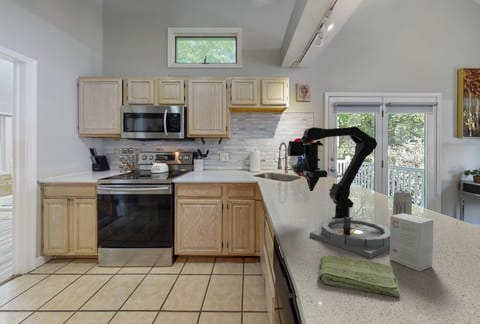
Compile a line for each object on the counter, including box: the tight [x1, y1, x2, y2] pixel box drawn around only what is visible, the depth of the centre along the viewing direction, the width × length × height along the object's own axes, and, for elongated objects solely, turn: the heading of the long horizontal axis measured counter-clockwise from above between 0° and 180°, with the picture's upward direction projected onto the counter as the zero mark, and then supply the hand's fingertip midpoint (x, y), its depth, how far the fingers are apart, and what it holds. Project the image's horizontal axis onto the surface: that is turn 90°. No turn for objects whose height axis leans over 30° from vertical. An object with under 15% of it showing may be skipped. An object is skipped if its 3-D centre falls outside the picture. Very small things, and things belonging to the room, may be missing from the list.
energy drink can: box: [392, 190, 413, 215], centre depth 95 cm, size 6×6×15 cm
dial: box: [330, 217, 382, 237], centre depth 87 cm, size 17×17×7 cm
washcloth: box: [317, 254, 401, 297], centre depth 62 cm, size 13×18×3 cm
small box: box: [389, 213, 434, 272], centre depth 68 cm, size 8×6×13 cm
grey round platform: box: [309, 218, 390, 259], centre depth 87 cm, size 22×22×4 cm
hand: (311, 191), depth 109 cm, fingers closed
